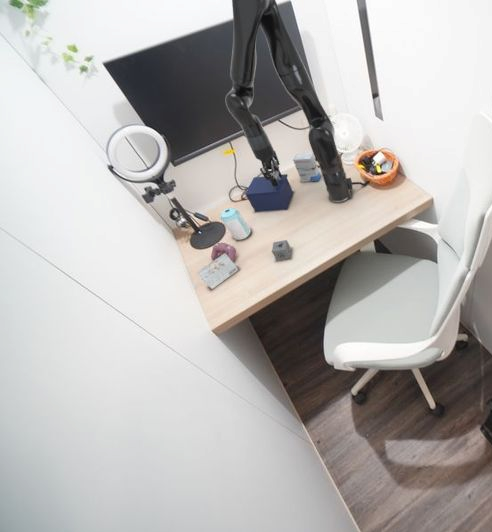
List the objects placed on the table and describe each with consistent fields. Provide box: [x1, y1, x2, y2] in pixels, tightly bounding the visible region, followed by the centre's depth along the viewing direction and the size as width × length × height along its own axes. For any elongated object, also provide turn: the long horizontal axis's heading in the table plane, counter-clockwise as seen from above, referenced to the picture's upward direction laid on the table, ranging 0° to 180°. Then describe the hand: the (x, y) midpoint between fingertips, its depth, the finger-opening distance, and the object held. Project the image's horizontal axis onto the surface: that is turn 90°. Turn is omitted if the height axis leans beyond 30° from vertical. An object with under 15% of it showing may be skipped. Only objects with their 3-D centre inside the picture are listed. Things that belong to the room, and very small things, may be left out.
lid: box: [245, 171, 289, 197], centre depth 135 cm, size 15×12×5 cm
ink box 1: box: [196, 252, 239, 290], centre depth 113 cm, size 2×11×10 cm, turn 140°
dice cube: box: [271, 239, 292, 262], centre depth 119 cm, size 5×5×5 cm
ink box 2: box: [292, 153, 321, 183], centre depth 149 cm, size 8×5×12 cm, turn 84°
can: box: [220, 207, 251, 241], centre depth 127 cm, size 7×7×12 cm
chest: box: [246, 178, 294, 213], centre depth 141 cm, size 15×12×9 cm
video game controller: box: [210, 242, 237, 263], centre depth 122 cm, size 10×5×7 cm, turn 71°
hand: (277, 181), depth 135 cm, fingers closed on lid, 5 cm apart
